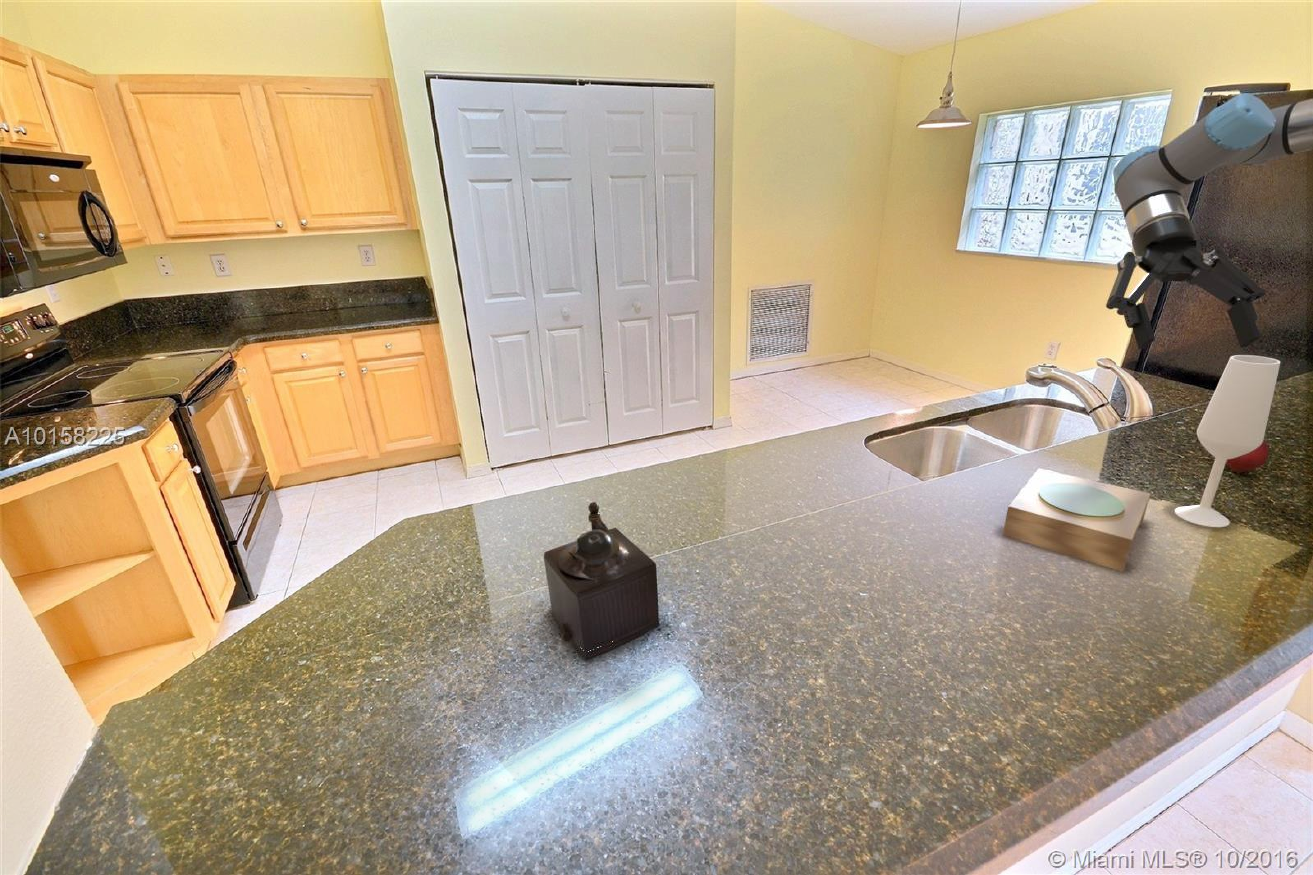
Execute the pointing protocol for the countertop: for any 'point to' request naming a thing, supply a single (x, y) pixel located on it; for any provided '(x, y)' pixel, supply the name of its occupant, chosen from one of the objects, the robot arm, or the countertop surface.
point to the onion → (1250, 459)
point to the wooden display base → (1077, 517)
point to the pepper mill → (601, 589)
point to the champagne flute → (1233, 424)
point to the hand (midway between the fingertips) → (1198, 343)
